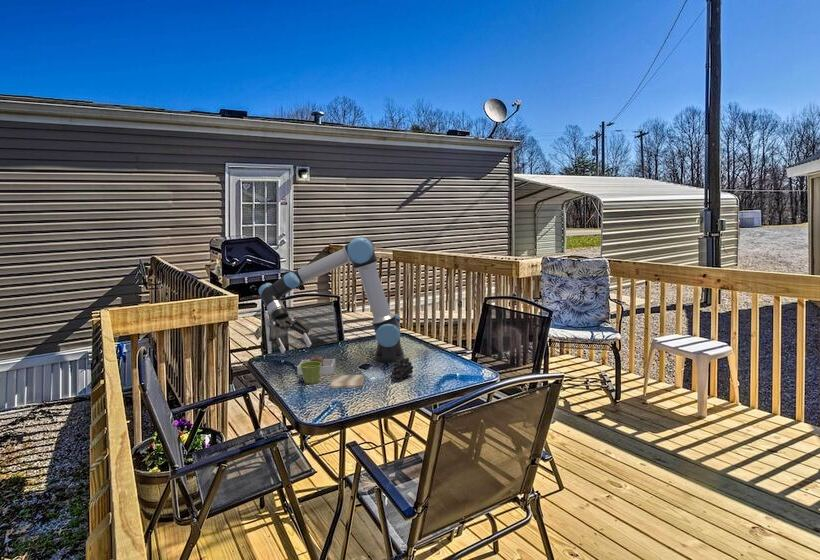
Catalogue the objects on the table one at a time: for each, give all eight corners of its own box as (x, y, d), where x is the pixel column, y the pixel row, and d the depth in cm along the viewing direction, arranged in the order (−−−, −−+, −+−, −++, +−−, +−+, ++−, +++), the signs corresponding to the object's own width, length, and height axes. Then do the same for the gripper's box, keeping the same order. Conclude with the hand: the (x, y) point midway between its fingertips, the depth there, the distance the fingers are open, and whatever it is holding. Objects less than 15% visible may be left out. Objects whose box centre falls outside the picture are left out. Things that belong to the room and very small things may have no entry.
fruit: (394, 363, 213) (412, 354, 225) (380, 367, 217) (398, 357, 230) (400, 382, 212) (418, 372, 225) (385, 385, 217) (404, 375, 229)
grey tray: (335, 367, 239) (335, 358, 238) (332, 375, 227) (332, 366, 226) (302, 368, 238) (302, 359, 238) (297, 376, 226) (297, 367, 226)
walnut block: (323, 368, 235) (322, 356, 234) (321, 371, 230) (321, 359, 229) (312, 368, 235) (312, 356, 234) (310, 372, 230) (310, 359, 229)
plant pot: (317, 387, 212) (316, 367, 210) (297, 386, 213) (296, 367, 212) (325, 380, 221) (324, 361, 220) (306, 379, 223) (305, 360, 221)
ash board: (364, 376, 224) (364, 374, 224) (362, 387, 210) (362, 385, 210) (333, 377, 224) (333, 375, 224) (329, 388, 210) (329, 386, 210)
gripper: (298, 312, 241) (317, 347, 232) (250, 321, 223) (269, 359, 215) (303, 303, 237) (323, 338, 228) (255, 311, 219) (275, 349, 211)
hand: (297, 348), depth 221 cm, fingers open, 13 cm apart
